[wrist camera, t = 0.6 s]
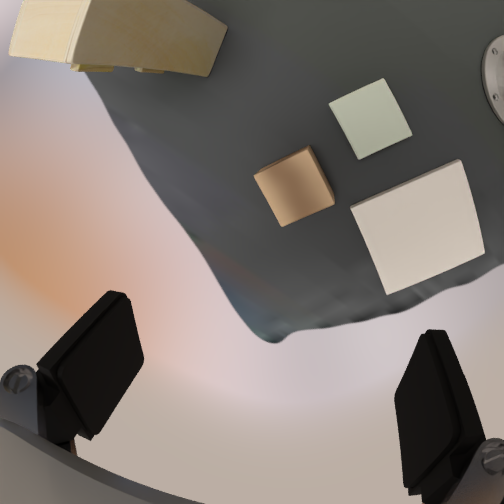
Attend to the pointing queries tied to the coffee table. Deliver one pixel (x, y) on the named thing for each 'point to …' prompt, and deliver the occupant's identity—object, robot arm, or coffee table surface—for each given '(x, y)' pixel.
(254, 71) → the coffee table surface
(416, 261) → the baseplate
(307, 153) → the oak block
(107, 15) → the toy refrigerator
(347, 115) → the sage block
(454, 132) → the coffee table surface
